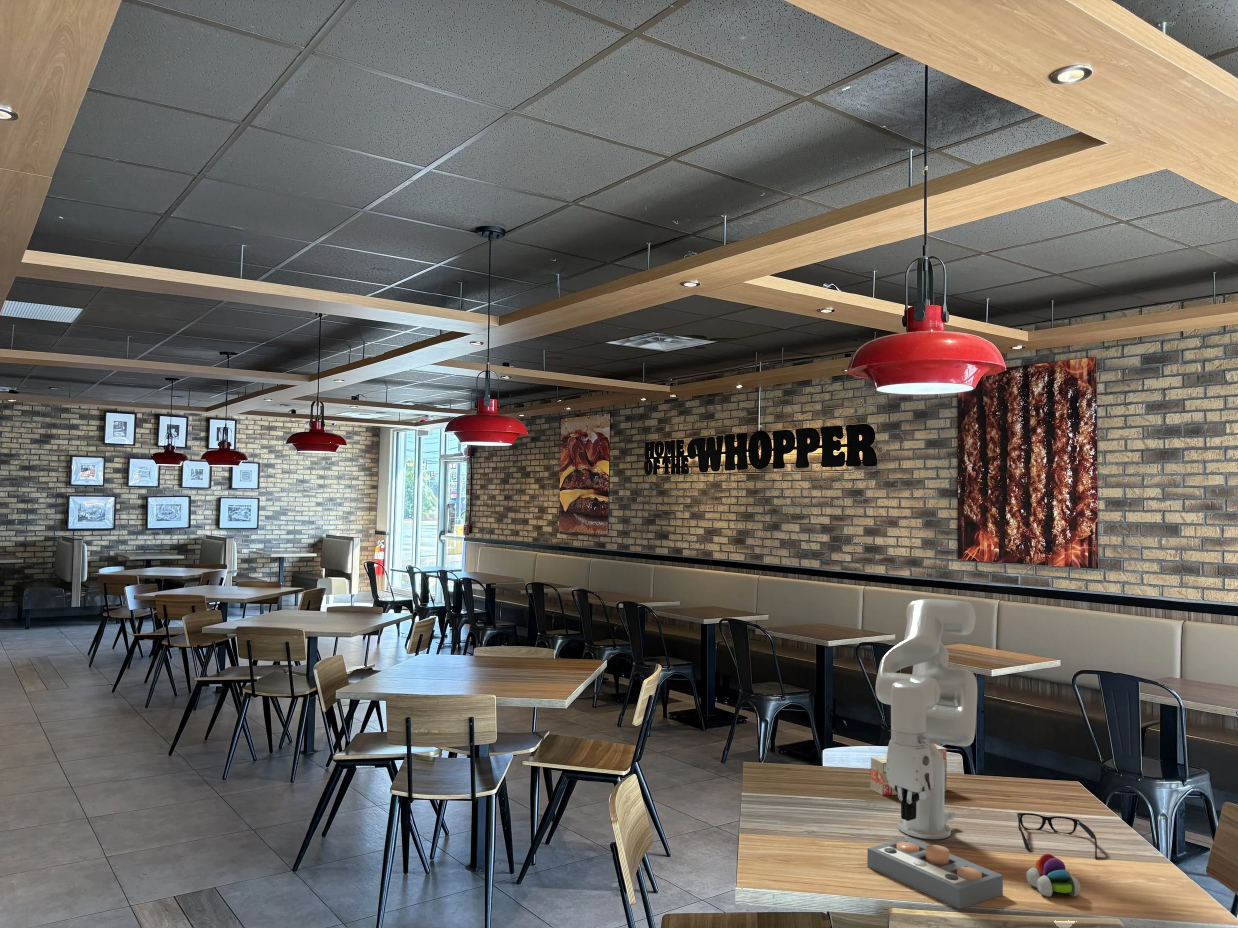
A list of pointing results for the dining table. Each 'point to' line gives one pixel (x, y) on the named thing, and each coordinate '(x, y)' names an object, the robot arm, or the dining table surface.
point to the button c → (969, 873)
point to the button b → (937, 855)
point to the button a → (908, 847)
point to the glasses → (1053, 828)
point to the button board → (935, 874)
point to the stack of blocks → (880, 778)
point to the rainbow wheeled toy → (1052, 877)
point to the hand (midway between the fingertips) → (908, 818)
